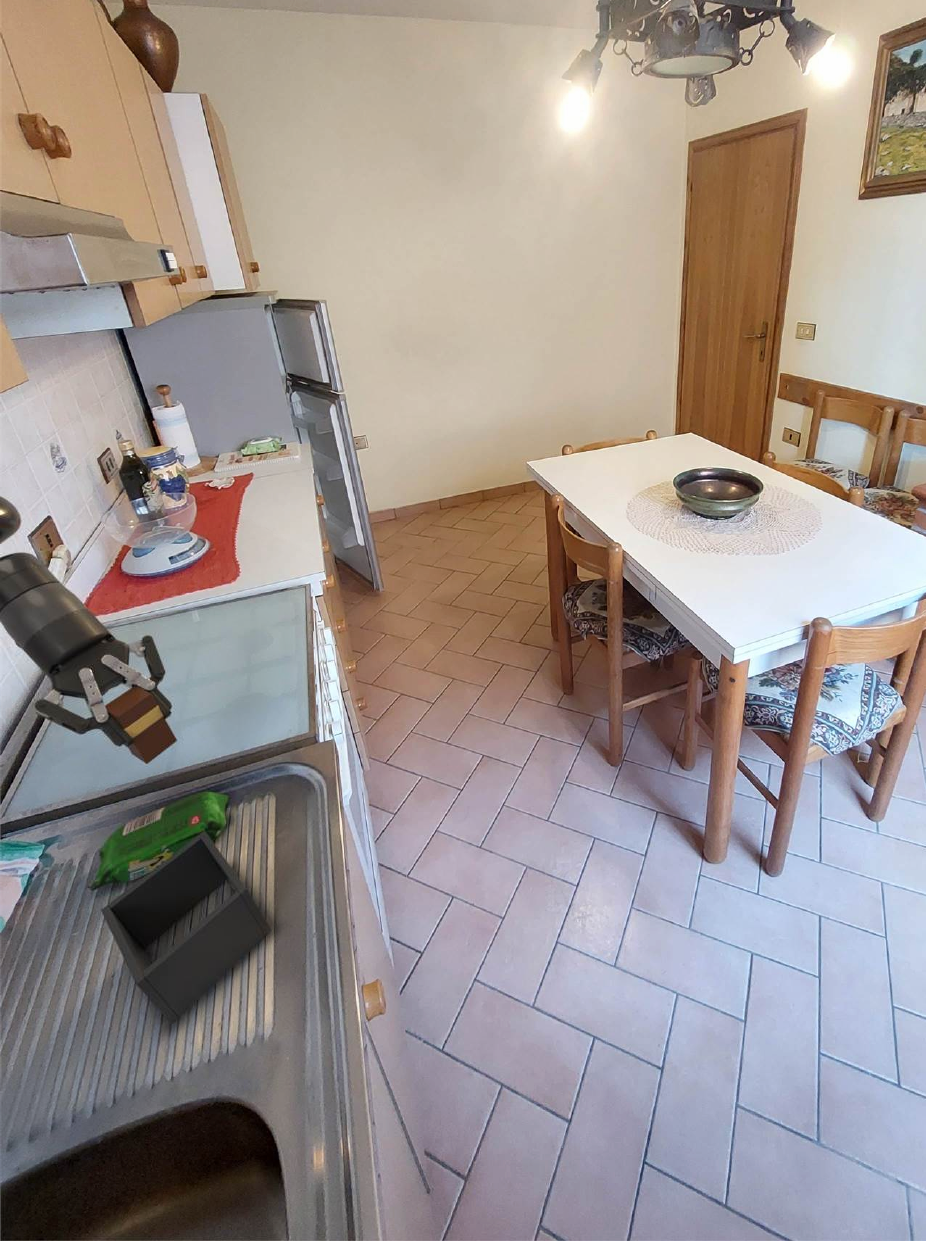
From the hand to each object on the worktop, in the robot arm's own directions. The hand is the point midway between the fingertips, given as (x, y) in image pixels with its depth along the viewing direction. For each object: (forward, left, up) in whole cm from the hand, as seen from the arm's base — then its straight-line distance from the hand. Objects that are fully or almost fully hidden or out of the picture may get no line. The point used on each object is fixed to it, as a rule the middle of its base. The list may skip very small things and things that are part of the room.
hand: (149, 729), depth 72 cm
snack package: (-5, -1, -19) cm, 19 cm away
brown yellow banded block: (0, +2, -4) cm, 5 cm away
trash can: (-7, -17, -18) cm, 26 cm away
